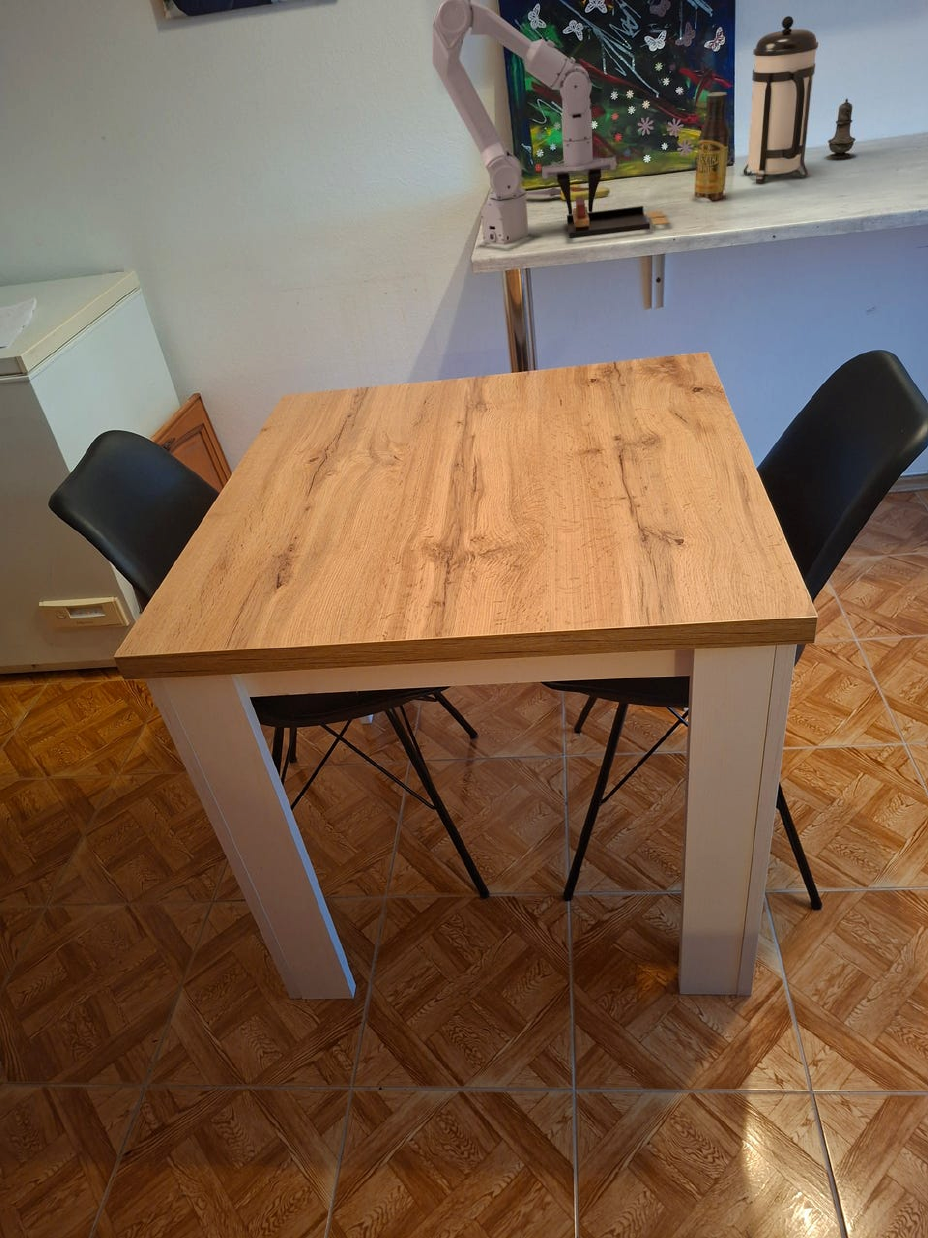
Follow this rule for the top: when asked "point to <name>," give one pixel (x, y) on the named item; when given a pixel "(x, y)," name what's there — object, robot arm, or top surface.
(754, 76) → the coffee press
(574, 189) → the yellow scissors
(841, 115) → the salt shaker
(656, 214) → the cracker piece
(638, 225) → the tray
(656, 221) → the cracker piece
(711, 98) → the brown glass bottle
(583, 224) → the brush
